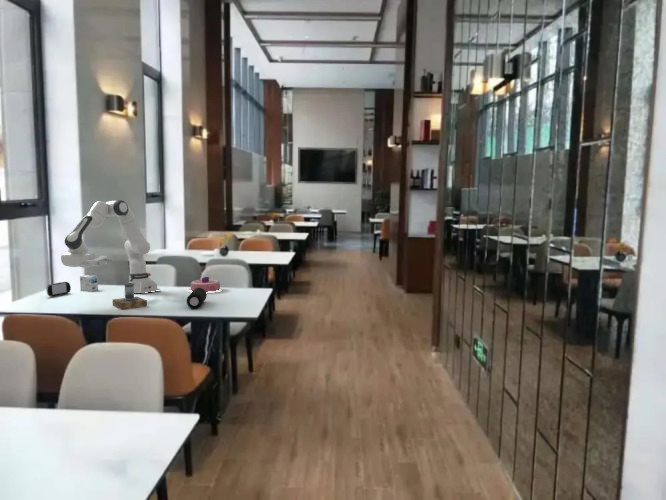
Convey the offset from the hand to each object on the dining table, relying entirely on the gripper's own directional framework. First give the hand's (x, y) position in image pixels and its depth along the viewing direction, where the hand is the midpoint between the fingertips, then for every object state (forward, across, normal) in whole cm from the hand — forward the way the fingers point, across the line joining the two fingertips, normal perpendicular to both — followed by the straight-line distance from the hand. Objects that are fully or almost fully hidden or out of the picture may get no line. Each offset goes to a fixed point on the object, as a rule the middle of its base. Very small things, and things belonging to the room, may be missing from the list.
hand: (109, 261), depth 355 cm
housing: (+13, -2, +23) cm, 27 cm away
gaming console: (-48, +33, +32) cm, 66 cm away
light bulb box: (-35, +54, +32) cm, 72 cm away
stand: (+13, -2, +28) cm, 31 cm away
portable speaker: (+56, +1, +26) cm, 61 cm away
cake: (+50, +54, +29) cm, 79 cm away
